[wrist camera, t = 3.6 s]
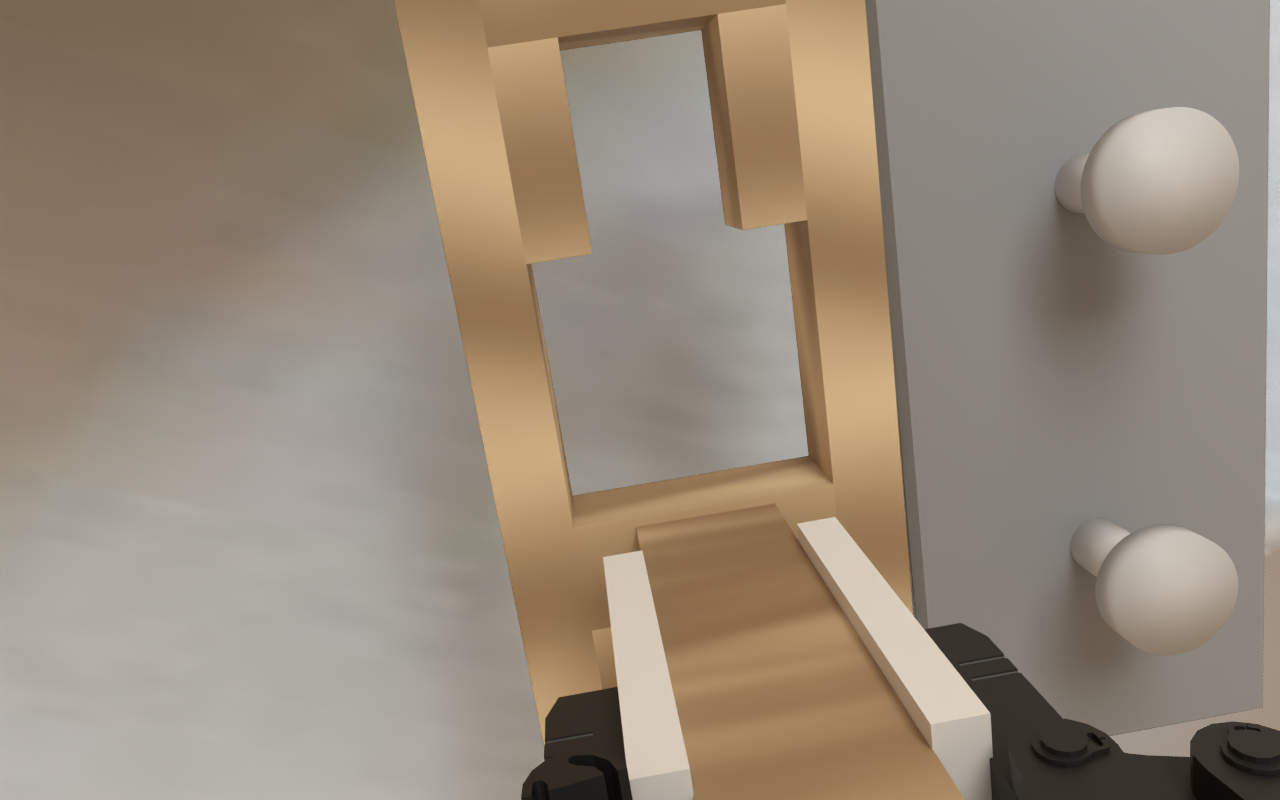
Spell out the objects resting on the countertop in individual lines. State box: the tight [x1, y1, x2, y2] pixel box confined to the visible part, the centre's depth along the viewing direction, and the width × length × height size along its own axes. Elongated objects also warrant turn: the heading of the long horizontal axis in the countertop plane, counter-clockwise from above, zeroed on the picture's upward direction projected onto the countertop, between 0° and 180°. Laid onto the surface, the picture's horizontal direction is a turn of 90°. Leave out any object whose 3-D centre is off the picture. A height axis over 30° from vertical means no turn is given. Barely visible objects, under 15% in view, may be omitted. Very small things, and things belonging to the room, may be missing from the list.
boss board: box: [865, 0, 1270, 736], centre depth 28 cm, size 27×12×5 cm, turn 8°
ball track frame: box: [394, 0, 965, 800], centre depth 16 cm, size 24×9×12 cm, turn 9°
